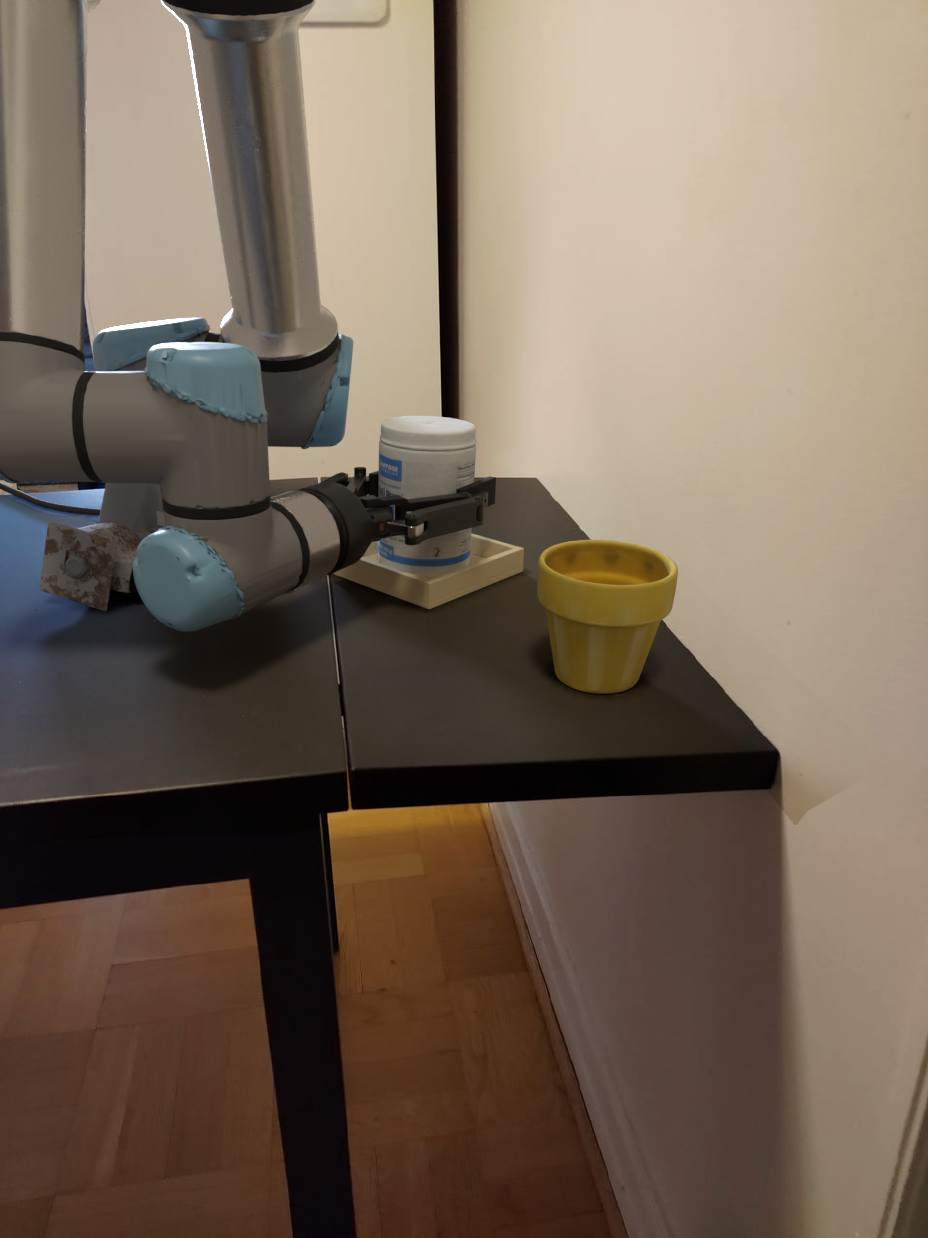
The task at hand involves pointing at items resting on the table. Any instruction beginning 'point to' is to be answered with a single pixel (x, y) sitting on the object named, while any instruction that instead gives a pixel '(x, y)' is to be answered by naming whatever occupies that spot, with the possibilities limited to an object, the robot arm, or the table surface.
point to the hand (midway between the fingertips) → (448, 482)
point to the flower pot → (603, 609)
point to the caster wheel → (89, 562)
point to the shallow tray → (484, 569)
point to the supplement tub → (426, 486)
